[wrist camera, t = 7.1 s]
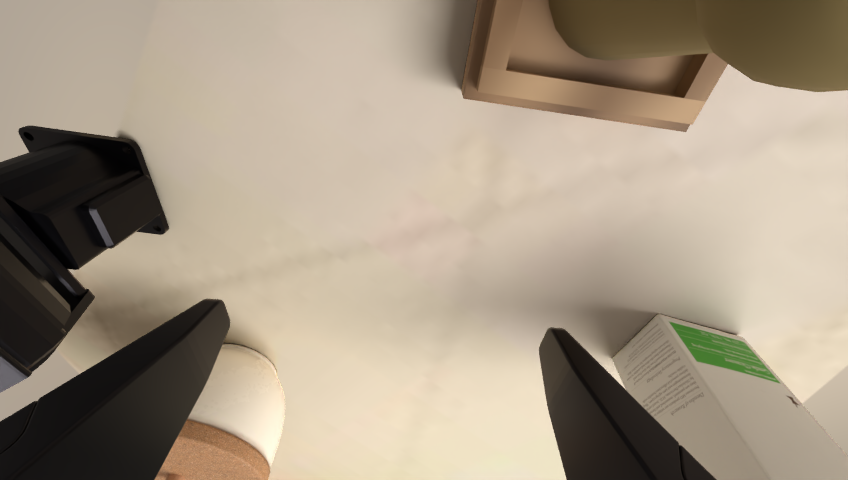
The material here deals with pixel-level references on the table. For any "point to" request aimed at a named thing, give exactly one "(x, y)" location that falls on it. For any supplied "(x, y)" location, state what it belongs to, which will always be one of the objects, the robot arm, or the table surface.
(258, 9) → the table surface
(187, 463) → the lidded bowl
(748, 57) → the olive pear-shaped figure
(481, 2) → the square wooden tray
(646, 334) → the skincare box
